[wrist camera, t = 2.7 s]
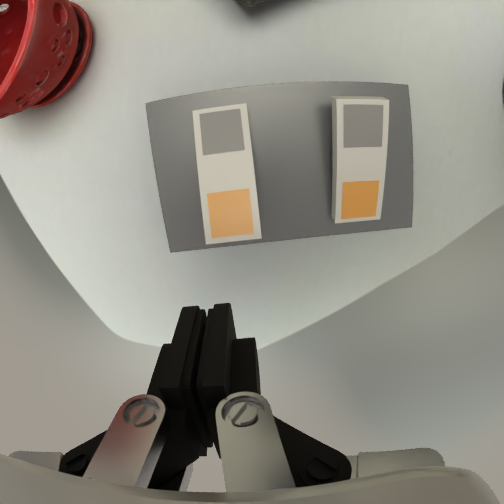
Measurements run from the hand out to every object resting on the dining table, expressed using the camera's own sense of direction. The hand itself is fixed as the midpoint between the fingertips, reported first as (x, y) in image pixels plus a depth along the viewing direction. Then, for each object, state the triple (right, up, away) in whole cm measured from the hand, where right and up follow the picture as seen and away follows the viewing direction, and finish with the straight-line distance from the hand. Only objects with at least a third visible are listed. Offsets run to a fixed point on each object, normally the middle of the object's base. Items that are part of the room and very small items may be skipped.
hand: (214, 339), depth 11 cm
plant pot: (-19, +23, +12) cm, 32 cm away
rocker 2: (+9, +10, +11) cm, 18 cm away
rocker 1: (-1, +9, +12) cm, 15 cm away
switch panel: (+4, +11, +16) cm, 20 cm away
